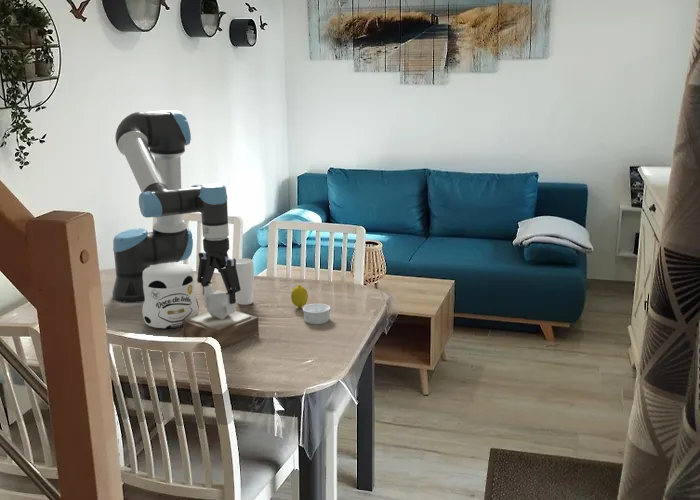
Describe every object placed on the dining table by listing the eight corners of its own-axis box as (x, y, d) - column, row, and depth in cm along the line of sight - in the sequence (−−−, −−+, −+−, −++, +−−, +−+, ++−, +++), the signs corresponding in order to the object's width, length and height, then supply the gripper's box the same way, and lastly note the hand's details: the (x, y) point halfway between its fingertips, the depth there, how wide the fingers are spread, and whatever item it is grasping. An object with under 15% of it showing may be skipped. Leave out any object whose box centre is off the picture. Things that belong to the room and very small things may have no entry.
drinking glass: (251, 306, 244) (249, 264, 240) (232, 305, 245) (230, 263, 241) (257, 300, 250) (256, 258, 246) (239, 299, 251) (237, 257, 247)
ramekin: (299, 324, 229) (298, 311, 228) (308, 314, 237) (307, 302, 236) (325, 326, 227) (325, 313, 225) (333, 316, 235) (333, 304, 234)
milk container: (174, 338, 218) (170, 281, 213) (131, 328, 226) (126, 273, 221) (210, 319, 232) (207, 266, 228) (169, 311, 240) (165, 259, 236)
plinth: (183, 337, 218) (182, 319, 216) (223, 322, 230) (222, 304, 228) (218, 350, 208) (217, 331, 207) (258, 334, 220) (258, 315, 219)
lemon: (310, 306, 244) (310, 284, 242) (303, 311, 239) (302, 288, 237) (296, 304, 246) (295, 281, 244) (288, 309, 241) (287, 286, 239)
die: (213, 314, 223) (197, 294, 217) (237, 299, 223) (221, 279, 217) (218, 330, 217) (201, 310, 211) (243, 314, 217) (226, 294, 211)
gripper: (181, 234, 215) (186, 305, 221) (231, 246, 201) (235, 321, 208) (201, 229, 220) (205, 298, 226) (251, 240, 207) (254, 314, 213)
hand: (219, 309), depth 217 cm, fingers open, 9 cm apart
